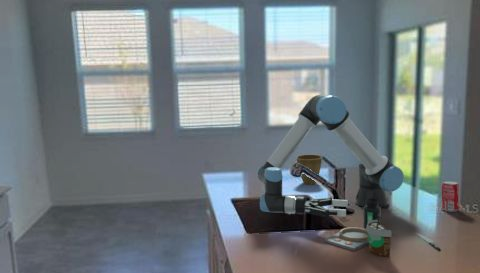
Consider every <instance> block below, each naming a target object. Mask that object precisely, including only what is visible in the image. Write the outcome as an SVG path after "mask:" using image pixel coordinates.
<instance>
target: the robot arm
mask: <svg viewBox="0 0 480 273" xmlns="http://www.w3.org/2000/svg"><path fill="white" fill-rule="evenodd" d="M320 122H321V124H322V125H323V126H324V127H325V128H326V129H327V130H328V131H329V132H334V133H335V135H337V137H338V138H339V139H340V140H341V142H342V143H344V145H346V147H347V148H348V149H349V151H351V153H352V155H354V156H355V157H356V158H357V159H358V162H359V163H358V168H359V169H358V174H359V175H358V176H359V180H358V183H359V184H358V190H357V193H356V196H355V204H357V206H360V207H363V208H364V207H365V206H366V200H367V199H377V200H378V206H379V207H380V208H384V207H386V206H388V204H389V203H388V202H389V199H388V197H387V194H386V192H390V193H391V192H395V191H397V190H399V189H400V188H401V186H402V185H403V183H404V178H405V175H404V172H403V170H402V169H401V168H400V167H398V166H396V165H394V164H393V163H392V161H391V160H390V159H389V158H388V157H387V156H386V155H381V154H380V152H378V151H377V149H376V148H375V147H374V146H373V144H371V142H370V141H369V140H368V138H367V137H366V136H365V135H364V134H363V132H362V131H361V130H360V129H359V128H358V127H357V126H356V125H355V123H354V122H353V121H352V120H351V118H350V112H349V111H348V110H347V106H346V103H345V102H344V100H343V99H342V98H340V97H339V96H336V95H333V94H317V95H314V96H313V97H311V98H310V99H309V100H308V101H307V102H306V104H305V105H304V107H303V108H302V110H300V111H299V113H298V118H297V120H296V121H295V122H294V124H293V125H292V127H291V128H290V129H289V131H288V132H287V133H286V134H285V136H284V138H282V140H281V141H280V143H279V144H278V145H277V147H276V148H275V149H274V151H273V152H272V154H271V155H270V157H268V159H267V161H266V162H265V163H264V164H263V165H261V166H259V167H258V168H257V171H256V176H257V178H258V180H259V181H260V182H261V183H263V185H264V194H261V195H260V198H259V208H260V210H261V211H262V212H266V213H275V214H276V213H280V214H281V213H282V214H288V215H291V214H292V215H295V214H296V215H305V214H307V215H309V214H310V215H314V216H319V217H323V218H327V219H329V217H331V216H332V217H344V218H346V217H347V209H344V208H343V207H345V208H346V207H347V208H348V207H349V206H348V205H349V204H348V203H349V202H348V199H333V197H331V196H330V197H323V198H309V199H308V200H307V199H306V196H300V195H299V196H296V195H284V194H283V172H282V171H283V170H282V168H283V167H284V166H285V165H286V163H287V162H288V160H289V159H290V158H291V156H292V155H293V154H294V153H295V151H296V150H297V148H298V147H299V146H300V144H301V143H302V141H303V140H304V139H305V138H306V136H307V135H308V133H309V132H310V131H311V129H312V128H315V127H317V125H318V124H319V123H320ZM328 206H332V207H342V208H343V209H341V208H329V209H328V208H325V207H328Z"/></svg>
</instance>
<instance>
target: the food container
mask: <svg viewBox="0 0 480 273" xmlns="http://www.w3.org/2000/svg"><path fill="white" fill-rule="evenodd" d="M366 231H367V232H368V239H369V243H368V249H369V250H368V251H369V253H370V254H372V255H373V256H376V257H380V258H390V256H391V254H390V253H391V240H392V239H391V238H392V237H393V236H392V230H390V229H389V230H388V229H387V228H386V227H385V226H384V225H382V224H381V225H380V224H379V223H378V220H372V221H369V222H368V224H367V226H366Z"/></svg>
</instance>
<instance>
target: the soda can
mask: <svg viewBox="0 0 480 273" xmlns="http://www.w3.org/2000/svg"><path fill="white" fill-rule="evenodd" d="M441 184H442V185H441V209H442V210H443V211H444V212H447V213H456V212H458V211H459V209H460V185H459V182H458V181H455V180H445V181H443V182H442V183H441Z"/></svg>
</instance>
